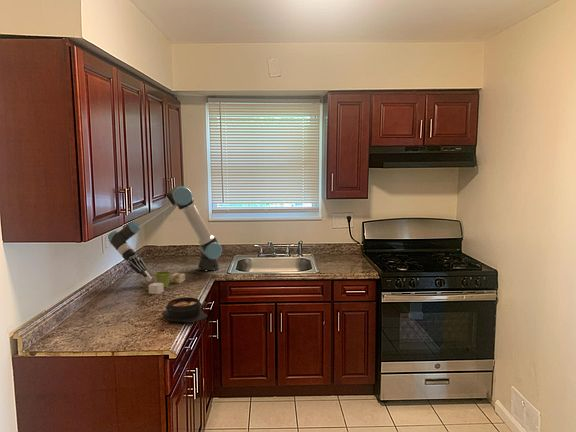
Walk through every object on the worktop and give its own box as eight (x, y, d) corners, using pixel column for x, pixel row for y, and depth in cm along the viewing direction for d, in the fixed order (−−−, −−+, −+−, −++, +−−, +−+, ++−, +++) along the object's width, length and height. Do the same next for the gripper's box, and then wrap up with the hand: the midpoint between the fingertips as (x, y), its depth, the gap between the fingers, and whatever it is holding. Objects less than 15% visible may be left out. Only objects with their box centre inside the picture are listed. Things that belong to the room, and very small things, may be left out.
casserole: (152, 318, 214) (151, 301, 213) (182, 308, 229) (182, 292, 228) (186, 329, 199) (185, 311, 198) (216, 318, 214) (216, 301, 213)
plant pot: (163, 283, 277) (162, 270, 276) (174, 285, 273) (173, 272, 272) (151, 287, 270) (151, 273, 269) (162, 289, 265) (162, 275, 264)
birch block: (171, 282, 280) (171, 275, 280) (176, 280, 286) (176, 272, 285) (180, 283, 278) (179, 275, 278) (185, 281, 284) (184, 273, 284)
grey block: (148, 293, 257) (148, 285, 257) (154, 290, 263) (154, 282, 262) (157, 294, 255) (157, 285, 255) (163, 291, 261) (163, 283, 261)
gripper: (130, 254, 284) (153, 281, 281) (116, 258, 272) (140, 286, 268) (136, 246, 282) (160, 273, 278) (123, 250, 269) (147, 278, 266)
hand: (150, 280), depth 273 cm, fingers closed
